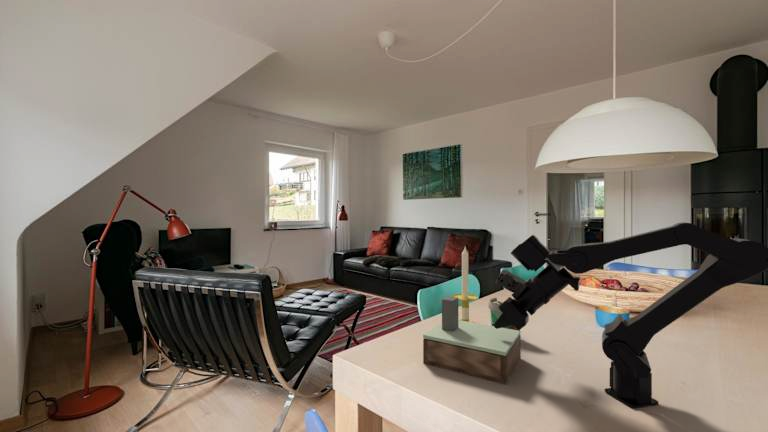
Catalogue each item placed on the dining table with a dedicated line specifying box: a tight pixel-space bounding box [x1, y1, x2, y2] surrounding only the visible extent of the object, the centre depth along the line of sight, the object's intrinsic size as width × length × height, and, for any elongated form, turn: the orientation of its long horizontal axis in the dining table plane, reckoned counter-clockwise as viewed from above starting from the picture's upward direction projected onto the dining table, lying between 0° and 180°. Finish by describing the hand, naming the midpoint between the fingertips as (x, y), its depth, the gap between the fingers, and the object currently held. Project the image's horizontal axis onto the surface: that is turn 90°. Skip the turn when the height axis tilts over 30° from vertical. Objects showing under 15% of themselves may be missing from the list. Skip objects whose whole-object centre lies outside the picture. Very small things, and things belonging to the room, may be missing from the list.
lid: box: [422, 295, 521, 356], centre depth 86 cm, size 20×16×9 cm
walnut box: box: [422, 334, 522, 385], centre depth 86 cm, size 20×16×6 cm
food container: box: [487, 297, 521, 332], centre depth 104 cm, size 12×6×10 cm, turn 21°
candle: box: [451, 246, 479, 323], centre depth 112 cm, size 10×10×27 cm
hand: (495, 326), depth 83 cm, fingers closed
